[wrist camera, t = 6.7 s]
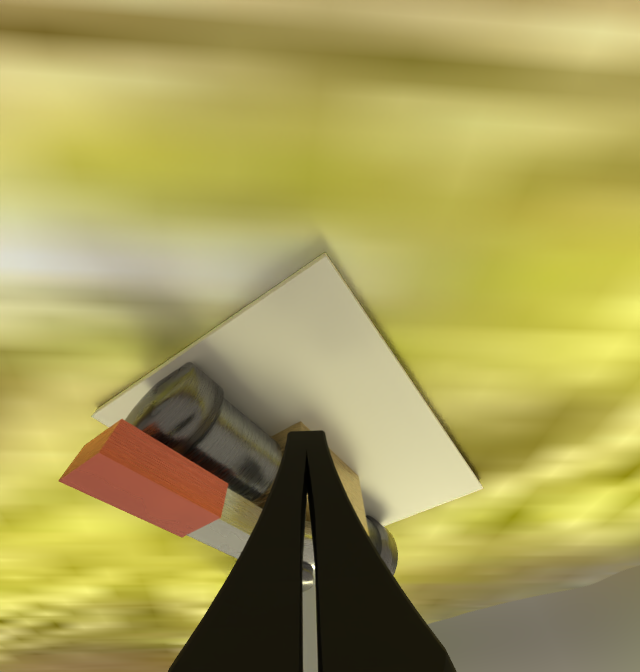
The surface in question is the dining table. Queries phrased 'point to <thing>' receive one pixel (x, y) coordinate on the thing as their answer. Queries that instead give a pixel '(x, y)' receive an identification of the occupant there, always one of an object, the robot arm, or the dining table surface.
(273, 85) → the dining table surface
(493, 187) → the dining table surface
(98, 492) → the lever
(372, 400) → the mounting board
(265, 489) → the valve body
